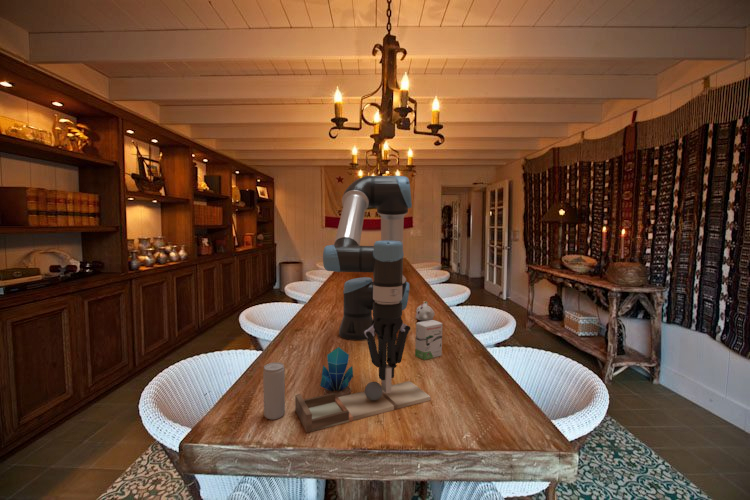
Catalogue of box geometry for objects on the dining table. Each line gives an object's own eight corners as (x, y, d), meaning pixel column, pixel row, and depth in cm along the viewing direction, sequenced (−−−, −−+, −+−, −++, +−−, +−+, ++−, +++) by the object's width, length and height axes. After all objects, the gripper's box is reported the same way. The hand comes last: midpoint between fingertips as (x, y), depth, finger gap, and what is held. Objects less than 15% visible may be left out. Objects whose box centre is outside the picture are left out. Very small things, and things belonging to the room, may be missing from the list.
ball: (371, 375, 91) (380, 387, 92) (358, 388, 90) (368, 400, 91) (379, 381, 87) (388, 393, 88) (366, 394, 85) (376, 407, 87)
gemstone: (323, 386, 98) (323, 344, 97) (353, 387, 98) (354, 345, 97) (317, 399, 91) (317, 354, 90) (351, 400, 91) (351, 355, 90)
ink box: (423, 360, 118) (424, 326, 117) (414, 355, 122) (415, 322, 121) (442, 355, 122) (443, 322, 121) (432, 351, 126) (433, 319, 126)
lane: (295, 410, 85) (295, 394, 85) (409, 384, 100) (410, 370, 100) (306, 432, 76) (306, 415, 76) (430, 400, 91) (430, 385, 91)
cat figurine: (420, 297, 173) (426, 300, 158) (434, 306, 173) (441, 310, 158) (410, 314, 173) (415, 319, 158) (424, 322, 173) (430, 328, 158)
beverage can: (266, 409, 85) (265, 362, 85) (286, 409, 86) (286, 361, 85) (261, 421, 81) (261, 370, 80) (282, 420, 81) (282, 370, 80)
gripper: (371, 306, 83) (370, 402, 84) (417, 301, 88) (415, 391, 90) (358, 300, 89) (357, 389, 91) (401, 296, 95) (400, 379, 97)
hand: (386, 390), depth 91 cm, fingers closed
